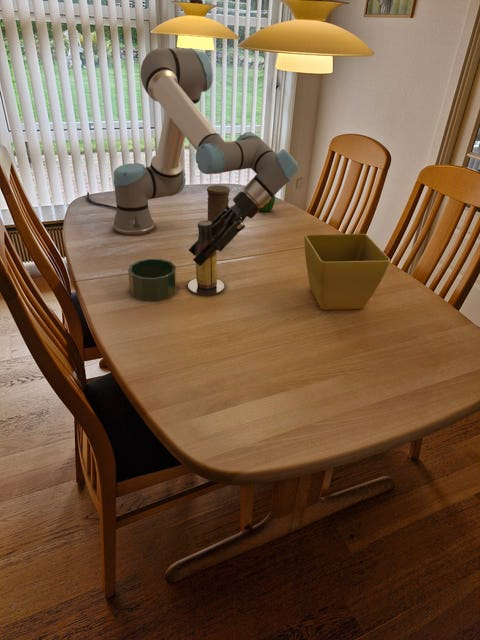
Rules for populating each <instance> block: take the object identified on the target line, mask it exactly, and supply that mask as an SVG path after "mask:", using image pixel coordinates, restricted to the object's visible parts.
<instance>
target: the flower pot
mask: <svg viewBox="0 0 480 640" xmlns="http://www.w3.org/2000/svg"><path fill="white" fill-rule="evenodd" d="M304 257H305V264H306V265H305V266H306V272H307V278H308V282H309V288H310V291H311V293H312V294H313V296H314V298H315V300H316V302H317V304H318V306H319V308H320V309H321V310H323V311H332V310H333V311H334V310H358V309H359V310H361V309H364V308H365V306H366V305H367V304H368V303H369V301H370V300H371V299H372V297H373V296H374V294H375V292H376V291H377V289H378V287H379V286H380V284H381V282H382V281H383V278H384V277H385V274H386V272H387V270H388V268H389V265H390V263H391V258H390V257H388V256H387V254H386V253H385V252H384V251H383V250H382V249H381V248H380V247H379V246H378V245H377V243H375V242H374V241H373V240H372V238H371V237H370V236H369V235H368V234H366V233H318V234H310V233H309V234H305V235H304Z"/></svg>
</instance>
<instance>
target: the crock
mask: <svg viewBox="0 0 480 640" xmlns="http://www.w3.org/2000/svg"><path fill="white" fill-rule="evenodd" d="M127 272H128V282H129V291H130V294H131V295H132V296H133V298H135V299H138V300H141V301H144V302H159V301H163V300H167V299H169V298H171V297H173V295H175V294H176V292H177V289H178V286H177V285H178V284H177V281H178V280H177V266H176V265H175V264H174V263H173V262H172V261H169V260H167V259H164V258H163V259H162V258H147V259H141V260H137V261H135V262H134V263H131V264H130V265H129V268H128V270H127Z"/></svg>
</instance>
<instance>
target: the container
mask: <svg viewBox="0 0 480 640" xmlns="http://www.w3.org/2000/svg"><path fill="white" fill-rule="evenodd" d="M206 191H207V199H206V200H207V221H212V220H213V219H214V218H215V217H216V216H217V215H218V214H219V213H220V212H221V211H222V210H223V209H224V208H225V206H227V205H228V206H229V205H230V203H229V201H230V199H229V196H230V192H231V189H230V187H229V186H226V185H222V184H214V185H209V186H208V187H207V188H206ZM229 207H230V206H229ZM218 233H219V232H218ZM218 233H217V234H216V235H215V236H213V240H214V239H215V237H216V236H217V235H218Z"/></svg>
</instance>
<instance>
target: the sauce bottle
mask: <svg viewBox="0 0 480 640" xmlns="http://www.w3.org/2000/svg"><path fill="white" fill-rule="evenodd" d="M207 220H208V219H207ZM207 220H205V219H204V220H200V221H198V222H197V229H198V237H197V240H198V242H197V244H196V249H195V256H194V258H195V257H196V256H197V255H198V254H199V253H200V252H201V251H202V250H203V249H204V248H205V247H206V246H207V245H208V244H209V242H212V241H213V240H214V239H213V238H212V222H211V221H207ZM217 254H218V253H217V250H216V251H215V252H214V253H213V254H212V255H211V256H210V257H209V258H208V259H207V260H206V261H205V262H204V263H203V264H202V265H201V266H199V265H198V264H197V263H196V262H195V277H196V278H195V279H196V280H197V284H198V286H199V287H200V288H203V289H211V288H214V287H215V286H216V285H217V279H218V259H217V257H218V255H217Z"/></svg>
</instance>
